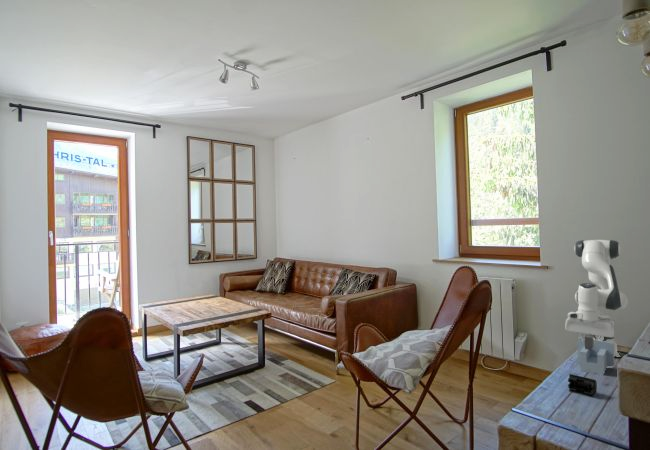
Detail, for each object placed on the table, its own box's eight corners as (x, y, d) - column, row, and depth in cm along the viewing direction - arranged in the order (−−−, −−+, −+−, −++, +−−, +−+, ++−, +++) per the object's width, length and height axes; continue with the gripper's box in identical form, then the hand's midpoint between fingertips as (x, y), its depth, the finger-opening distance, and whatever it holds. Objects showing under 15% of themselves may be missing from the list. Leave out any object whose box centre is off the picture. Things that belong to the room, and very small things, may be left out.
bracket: (586, 346, 187) (586, 334, 188) (593, 347, 185) (593, 335, 186) (584, 348, 183) (584, 336, 183) (592, 350, 181) (591, 338, 181)
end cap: (597, 393, 164) (596, 378, 164) (593, 398, 159) (593, 382, 159) (571, 386, 171) (570, 372, 172) (567, 391, 166) (566, 376, 167)
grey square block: (578, 361, 207) (578, 337, 207) (614, 368, 196) (613, 342, 196) (573, 369, 195) (573, 342, 195) (611, 376, 184) (610, 349, 184)
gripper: (615, 317, 180) (615, 345, 180) (566, 311, 194) (567, 337, 194) (613, 319, 175) (614, 348, 175) (564, 313, 189) (564, 340, 189)
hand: (589, 342), depth 184 cm, fingers closed on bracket, 3 cm apart
